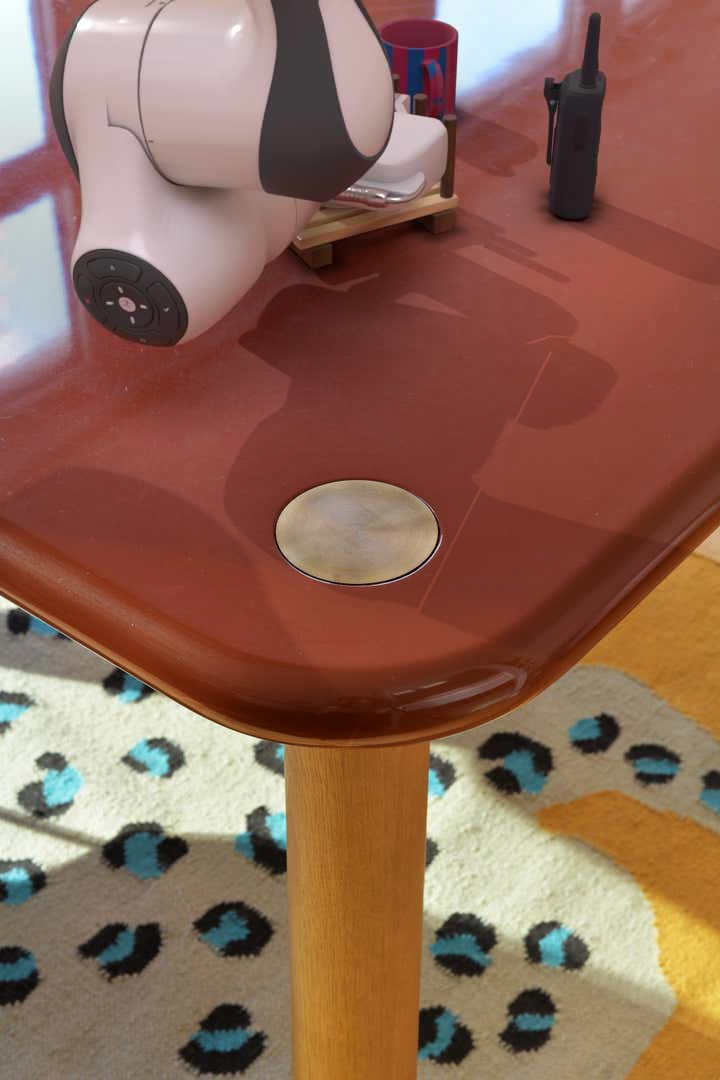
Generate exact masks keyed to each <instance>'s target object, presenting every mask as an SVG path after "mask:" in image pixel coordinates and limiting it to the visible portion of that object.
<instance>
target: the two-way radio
mask: <svg viewBox="0 0 720 1080" xmlns="http://www.w3.org/2000/svg"><path fill="white" fill-rule="evenodd" d="M601 23H602V16H601V13H600V12H599V11H593V12H591V13H590V14H589V19H588V23H587V24H588V25H587V30H586V36H585V37H586V38H585V44H584V52H583V59H582V63H581V66H580V67H581V68H577V69H574V70H572V71H571V72H569V73H567V74H566V75H565V76H564V77H563V79H562V81H560V82H555V77H548V76H547V77H545V78H544V84H543V85H544V86H543V97H544V99H545V102H546V105H547V111H548V129H547V130H548V131H547V144H546V145H547V146H546V155H545V157H546V158H545V159H546V160H545V161H546V164H547V166H548V167H550V171H549V182H548V184H549V193H548V209H549V211H550V212H551V213H552V214H554V215H557V216H558V217H559V218H562V219H568V220H582V219H585V218H587V217H588V216H589V215H590V213H591V209H592V205H593V202H594V198H595V193H596V184H597V177H598V157H599V151H600V143H601V135H602V116H603V115H602V114H603V108H604V107H603V106H604V100H605V96H606V91H607V77H606V74H605V72H603V71H602V70H599V68H600V65H599V64H600V63H599V49H600V38H601ZM555 115H556V118H555ZM555 120H556V121H555ZM554 125H555V126H554Z"/></svg>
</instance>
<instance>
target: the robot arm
mask: <svg viewBox="0 0 720 1080" xmlns="http://www.w3.org/2000/svg"><path fill="white" fill-rule="evenodd" d="M48 88H49V89H48V98H49V106H50V112H51V116H52V117H51V118H52V122H53V127H54V130H55V134H56V137H57V140H58V141H59V145H60V148H61V150H62V152H63V154H64V157H65V158H66V160H67V162H68V164H69V167H70V168H71V171H72V173H73V174H74V176H75V179H76V180H77V183H78V185H79V187H80V197H81V218H80V224H79V230H78V235H77V237H76V241H75V243H74V244H75V245H74V248H73V251H72V255H71V260H70V278H71V282H72V287H73V289H74V292H75V295H76V297H77V298H78V300H79V302H80V304H81V306H83V307H84V309H85V311H86V312H87V313H88V314H89V315H90V316H91V317H92V318H93V319H94V320H95V321H96V322H97V323H98V324H99V325H100V326H102V327H103V328H104V329H105V330H107V331H109V332H110V333H111V334H114V335H115V336H117V337H119V338H121V339H123V340H126V341H128V342H130V343H131V342H132V343H134V344H137V345H142V346H148V347H155V348H174V347H177V346H181V345H183V344H186V343H188V342H190V341H192V340H194V339H195V338H198V337H199V336H201V335H202V334H204V333H206V332H207V331H208V330H210V329H211V328H212V327H213V326H214V325H216V324H218V323H219V321H220V320H222V319H223V318H224V316H226V315H227V314H228V313H229V312H230V311H231V310H232V309H234V307H235V306H236V305H237V304H238V303H239V302H240V301H241V300H242V299H243V297H244V296H246V294H247V293H249V291H250V290H251V289H252V288H253V286H254V285H255V284H256V283H257V281H259V278H260V277H261V275H262V272H263V270H264V268H265V265H267V264H269V263H271V262H273V261H274V260H275V259H276V258H278V257H279V256H280V255H281V254H282V253H283V252H284V251H285V250H286V249H287V248H288V247H289V246H288V245H289V244H290V243H291V242H292V241H293V239H294V238H295V237H296V236H297V235H298V234H299V233H300V232H301V231H302V229H303V228H304V227H305V226H306V225H307V224H308V223H309V221H310V220H311V219H312V218H313V217H314V216H315V214H316V213H317V211H318V210H319V208H320V206H321V204H322V203H324V202H331V203H336V204H341V205H347V206H352V207H357V208H362V209H367V210H373V211H381V212H391V211H397V210H400V209H403V208H405V207H407V206H409V205H411V204H412V203H414V202H415V201H416V200H418V199H419V198H420V197H422V196H423V195H424V194H425V193H426V192H427V191H429V190H430V189H431V188H432V187H433V186H434V185H435V184H436V183H437V182H438V181H439V182H440V179H441V178H442V176H443V175H444V173H445V170H446V164H447V153H448V133H447V129H446V128H445V126H444V125H443V124H442V122H441V121H440V120H438V119H435V118H430V117H423V116H417V115H411V114H410V96H409V95H404V94H399V93H395V90H394V80H393V74H392V69H391V65H390V61H389V57H388V54H387V51H386V48H385V46H384V43H383V41H382V39H381V36H380V34H379V32H378V28H377V27H376V24H375V22H374V20H373V19H372V17H371V15H370V13H369V11H368V9H367V7H366V6H365V4H364V2H363V0H94V1H92V2H90V3H89V4H88V5H87V6H86V7H85V8H84V9H83V10H82V11H81V12H80V13H79V14H78V16H76V18H75V19H74V20H73V21H72V23H71V25H70V26H69V28H68V30H67V31H66V33H65V35H64V38H63V40H62V41H61V43H60V46H59V49H58V52H57V54H56V57H55V60H54V64H53V66H52V71H51V75H50V80H49V87H48Z"/></svg>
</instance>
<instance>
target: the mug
mask: <svg viewBox="0 0 720 1080" xmlns="http://www.w3.org/2000/svg"><path fill="white" fill-rule="evenodd" d="M377 30H378V32H379V34H380V36H381V39H382V41H383V43H384V46H385V48H386V51H387V54H388V57H389V61H390V65H391V69H392V74H397V75H399V94H404V95H409V96H410V114H411V115H413V98H414V95H416V94H425V95H427V117H430V118H435V119H438V120H440V121H441V122H442V123H443V116H445V115H448V114H451V115H455V116H456V98H457V78H458V77H457V75H458V54H459V53H458V52H459V32H458V29H456V27H454V26H453V25H451V24H449V23H447V22H444V21H441V20H437V19H432V18H425V17H424V18H421V17H413V18H409V17H408V18H402V19H395V20H392V21H389V22H386V23H384V24H383V25H381V26H379V28H377Z"/></svg>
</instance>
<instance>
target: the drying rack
mask: <svg viewBox="0 0 720 1080" xmlns="http://www.w3.org/2000/svg"><path fill="white" fill-rule="evenodd" d="M393 80H394V90H395V93H399V75H397V74H393ZM413 115H417V116H423V117H427V95H425V94H416V95H414V98H413ZM442 124H443V125H444V126H445V128H446V129H447V133H448V153H447V164H446V170H445V173H444V175H443V176H442V178H441V179H440V180H439V181H438V182H437V183H436V184H435V185H434V186H433V187H432V188H431V189H430V190H429V191H427V192H426V193H425V194H424V195H423V196H422V197H420V198H419V199H418V200H416V201H415V202H414V203H412V204H411V205H409V206H407V207H405V208H403V209H400V210H397V211H391V212H381V211H373V210H367V209H362V208H357V207H351V208H344V209H335V208H328V207H324V206H320V208H319V210H318V211H317V213H316V214H315V216H314V217H313V218H312V219H311V220H310V221H309V223H308V224H307V225H306V226H305V227H304V228H303V229H302V231H301V232H300V233H299V234H298V235H297V236H296V237H295V238H294V239H293V241H292V242H291V243H290V244H289V245H288V246H287V247H289V248H290V249H291V250H292V251H293V252H294V253H295V254H296V255H298V256H299V258H300V259H302V261H304V263H306V265H308V266H309V267H310V268H311V269H312V270H315V269H318V268H323V267H325V266H329V265H332V264H333V245H332V244H331V242H335V241H339V240H342V239H346V238H349V237H350V238H351V237H353V236H357V235H361V234H363V233H367V232H371V231H374V230H379V229H382V228H385V227H390V226H393V225H396V224H401V223H403V222H407V221H411V220H415V221H416V222H418V223H419V224H420V225H422V226H423V227H424V228H425V229H426V230H428V231H429V232H430V233H431V234H432V235H434V236H435V235H438V234H442V233H445V232H449V231H453V220H454V211H453V210H452V209H454V208H457V207H459V199H460V198H459V196H458V195H457V194H456V193H454V192H455V191H454V189H455V171H456V149H457V147H456V146H457V127H458V125H457V124H458V117H457V115H456V114H455V115H451V114H448V115H445V116H443V123H442Z"/></svg>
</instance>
